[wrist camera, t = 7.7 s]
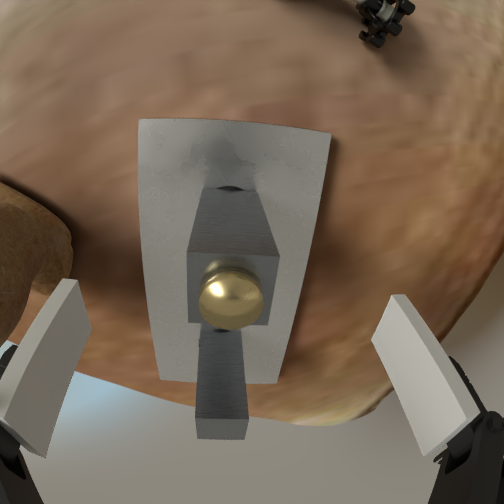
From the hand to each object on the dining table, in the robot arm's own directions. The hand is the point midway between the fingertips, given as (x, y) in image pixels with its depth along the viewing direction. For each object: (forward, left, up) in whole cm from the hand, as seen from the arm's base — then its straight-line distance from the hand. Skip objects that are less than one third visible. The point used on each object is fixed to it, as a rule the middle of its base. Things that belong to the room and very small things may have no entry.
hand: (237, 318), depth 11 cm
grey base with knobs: (0, +7, -14) cm, 15 cm away
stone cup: (+21, +2, -14) cm, 25 cm away
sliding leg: (0, 0, -12) cm, 12 cm away
